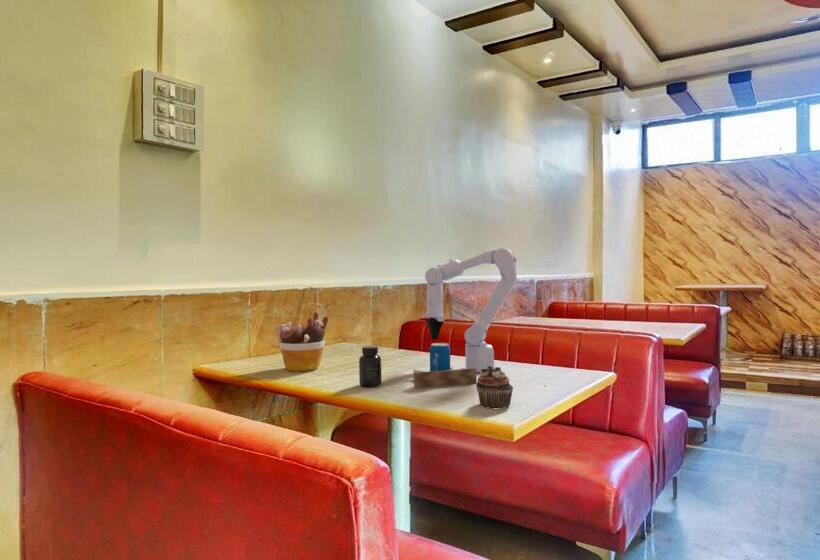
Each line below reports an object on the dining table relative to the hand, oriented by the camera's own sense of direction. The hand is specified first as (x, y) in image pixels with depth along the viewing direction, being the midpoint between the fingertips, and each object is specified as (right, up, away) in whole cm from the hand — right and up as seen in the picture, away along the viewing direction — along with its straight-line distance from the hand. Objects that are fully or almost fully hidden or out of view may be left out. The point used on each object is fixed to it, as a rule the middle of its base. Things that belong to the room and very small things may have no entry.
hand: (434, 339), depth 194 cm
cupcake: (+14, -12, -50) cm, 53 cm away
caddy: (+1, -11, -21) cm, 24 cm away
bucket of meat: (-47, -11, +3) cm, 49 cm away
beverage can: (+1, -11, -21) cm, 24 cm away
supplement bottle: (-21, -12, -25) cm, 35 cm away
